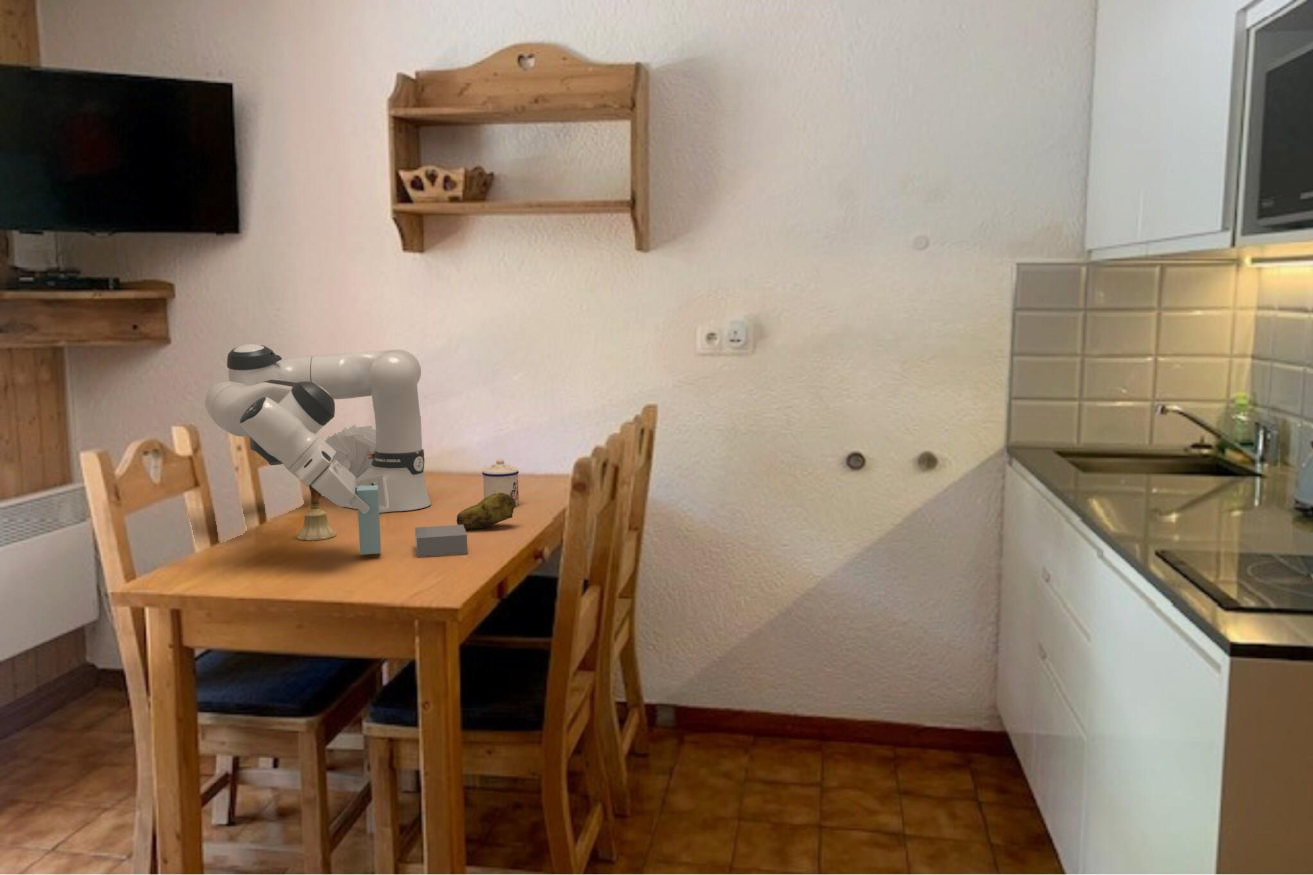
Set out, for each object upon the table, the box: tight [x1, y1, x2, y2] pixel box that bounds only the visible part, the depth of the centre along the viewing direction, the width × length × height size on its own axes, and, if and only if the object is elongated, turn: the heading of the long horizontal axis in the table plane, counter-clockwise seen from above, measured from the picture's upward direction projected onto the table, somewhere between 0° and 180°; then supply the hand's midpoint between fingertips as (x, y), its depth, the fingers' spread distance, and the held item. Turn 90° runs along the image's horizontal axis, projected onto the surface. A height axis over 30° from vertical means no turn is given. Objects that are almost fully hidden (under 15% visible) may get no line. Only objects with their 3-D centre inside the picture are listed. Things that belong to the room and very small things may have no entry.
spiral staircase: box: [324, 424, 377, 478], centre depth 282 cm, size 18×18×25 cm
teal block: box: [357, 485, 382, 555], centre depth 211 cm, size 4×5×13 cm
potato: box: [456, 493, 516, 530], centre depth 237 cm, size 8×13×8 cm, turn 87°
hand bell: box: [296, 484, 337, 542], centre depth 229 cm, size 8×8×16 cm
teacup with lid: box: [481, 459, 520, 507], centre depth 263 cm, size 12×9×12 cm
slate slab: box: [414, 524, 468, 558], centre depth 217 cm, size 10×10×4 cm
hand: (368, 507), depth 211 cm, fingers closed on teal block, 5 cm apart
